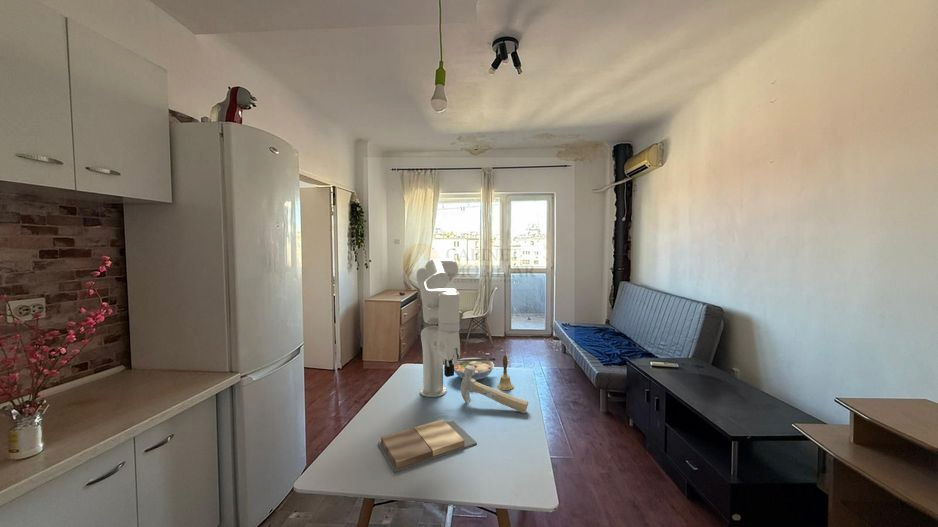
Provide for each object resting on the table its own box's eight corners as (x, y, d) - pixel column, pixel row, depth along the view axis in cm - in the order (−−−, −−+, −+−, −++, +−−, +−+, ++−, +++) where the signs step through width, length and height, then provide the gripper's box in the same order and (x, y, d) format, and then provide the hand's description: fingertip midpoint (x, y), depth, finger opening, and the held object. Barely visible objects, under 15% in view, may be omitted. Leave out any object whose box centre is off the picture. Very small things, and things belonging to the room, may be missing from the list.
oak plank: (413, 432, 129) (413, 427, 129) (443, 424, 135) (443, 419, 135) (432, 456, 114) (432, 450, 114) (464, 445, 120) (464, 440, 120)
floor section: (378, 444, 123) (377, 436, 123) (453, 421, 138) (453, 415, 138) (394, 472, 107) (394, 464, 107) (476, 444, 122) (476, 437, 122)
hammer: (531, 388, 146) (468, 364, 157) (529, 393, 142) (463, 367, 153) (523, 422, 148) (461, 395, 159) (520, 427, 144) (456, 400, 155)
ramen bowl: (448, 387, 172) (448, 371, 171) (449, 370, 194) (449, 356, 194) (498, 386, 172) (498, 370, 172) (494, 370, 195) (494, 355, 195)
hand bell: (493, 386, 173) (493, 354, 172) (505, 382, 178) (505, 351, 177) (504, 392, 166) (504, 359, 165) (517, 387, 171) (517, 355, 170)
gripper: (431, 323, 130) (431, 370, 131) (449, 332, 117) (449, 385, 118) (449, 320, 133) (449, 366, 135) (468, 329, 121) (468, 380, 122)
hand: (449, 375), depth 127 cm, fingers closed
